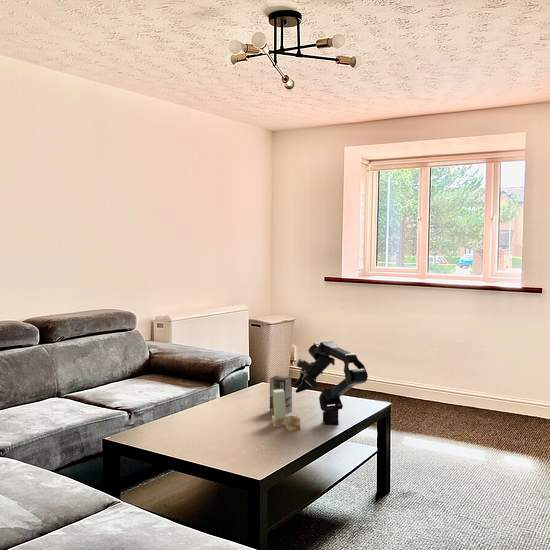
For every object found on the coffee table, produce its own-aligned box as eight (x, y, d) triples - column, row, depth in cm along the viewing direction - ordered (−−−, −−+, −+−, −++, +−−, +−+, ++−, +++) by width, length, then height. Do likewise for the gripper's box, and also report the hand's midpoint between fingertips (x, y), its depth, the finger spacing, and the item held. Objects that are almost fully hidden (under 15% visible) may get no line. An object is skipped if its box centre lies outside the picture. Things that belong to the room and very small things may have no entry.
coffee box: (292, 410, 284) (292, 377, 283) (285, 414, 278) (285, 380, 277) (276, 408, 289) (276, 375, 288) (269, 411, 283) (269, 377, 282)
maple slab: (287, 422, 268) (287, 415, 267) (289, 426, 261) (289, 420, 260) (272, 422, 267) (272, 415, 267) (273, 427, 260) (273, 420, 260)
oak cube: (296, 426, 260) (296, 415, 260) (300, 430, 255) (300, 418, 255) (285, 427, 259) (285, 416, 258) (288, 431, 254) (288, 419, 253)
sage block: (284, 415, 267) (282, 388, 266) (285, 418, 262) (284, 391, 261) (274, 416, 266) (272, 389, 265) (275, 419, 261) (274, 392, 260)
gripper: (305, 349, 278) (281, 372, 279) (309, 357, 260) (283, 382, 260) (321, 365, 279) (298, 389, 279) (327, 374, 261) (301, 399, 261)
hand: (295, 389), depth 270 cm, fingers open, 9 cm apart
